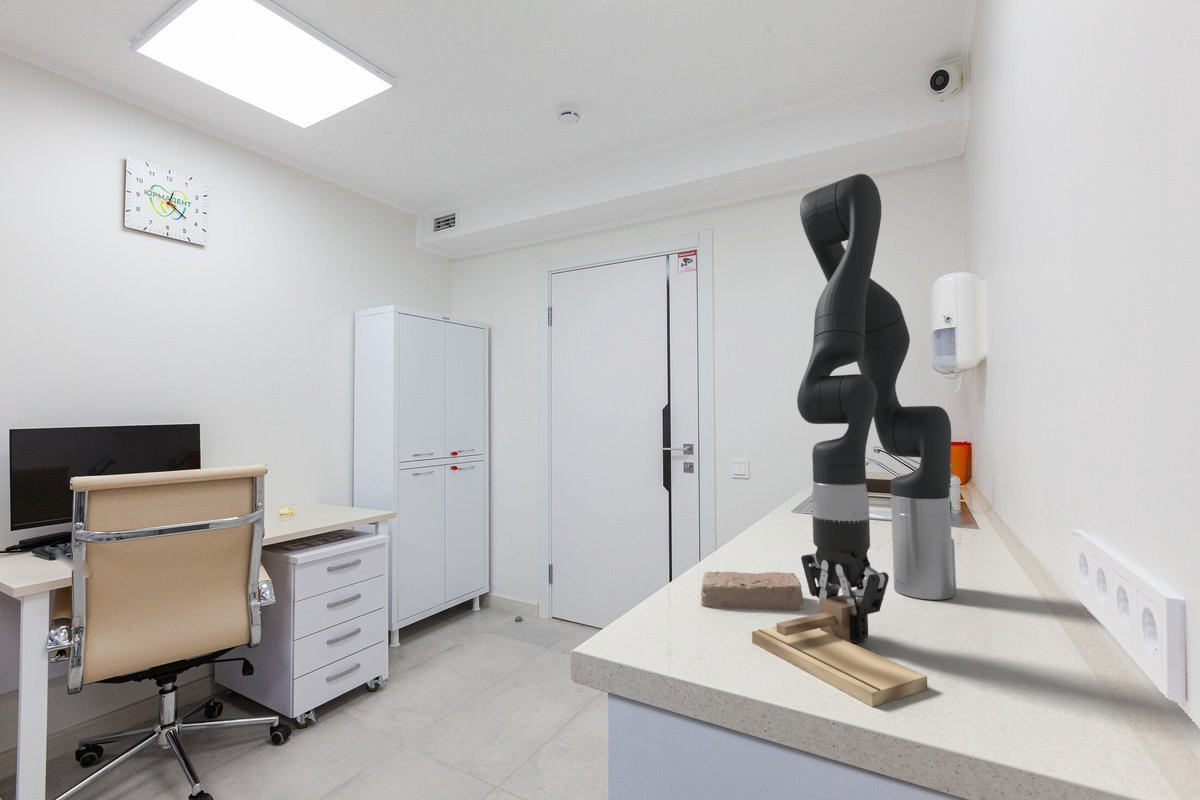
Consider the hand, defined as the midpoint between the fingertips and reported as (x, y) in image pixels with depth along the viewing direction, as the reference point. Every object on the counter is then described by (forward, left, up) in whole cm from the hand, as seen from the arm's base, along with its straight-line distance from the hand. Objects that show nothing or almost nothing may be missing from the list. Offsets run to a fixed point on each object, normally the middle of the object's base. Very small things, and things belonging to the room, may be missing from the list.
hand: (844, 634), depth 81 cm
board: (+8, +5, -1) cm, 9 cm away
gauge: (+4, 0, 0) cm, 4 cm away
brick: (+1, -19, -1) cm, 19 cm away
